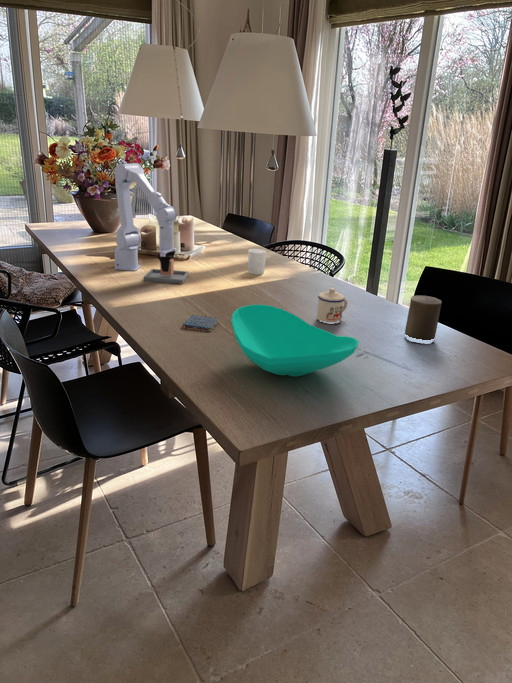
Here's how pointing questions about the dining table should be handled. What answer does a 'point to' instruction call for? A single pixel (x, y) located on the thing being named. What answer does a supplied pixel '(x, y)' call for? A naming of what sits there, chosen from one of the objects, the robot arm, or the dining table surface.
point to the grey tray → (156, 276)
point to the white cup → (256, 261)
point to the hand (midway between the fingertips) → (166, 269)
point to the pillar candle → (423, 317)
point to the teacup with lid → (331, 306)
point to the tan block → (170, 270)
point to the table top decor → (287, 341)
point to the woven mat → (200, 323)
